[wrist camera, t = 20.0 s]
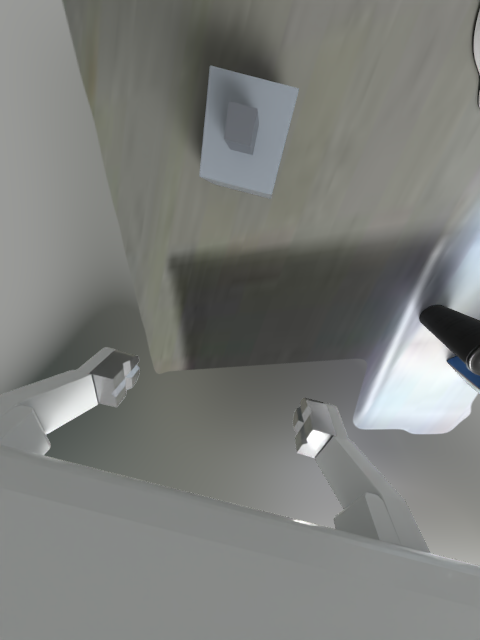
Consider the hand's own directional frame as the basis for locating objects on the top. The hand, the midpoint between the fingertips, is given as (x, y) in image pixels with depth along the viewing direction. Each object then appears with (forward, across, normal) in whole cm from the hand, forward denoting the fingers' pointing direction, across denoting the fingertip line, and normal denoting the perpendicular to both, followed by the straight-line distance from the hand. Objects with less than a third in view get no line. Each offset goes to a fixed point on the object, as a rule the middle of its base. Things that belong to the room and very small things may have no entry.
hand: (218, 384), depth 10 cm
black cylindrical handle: (+34, -39, +3) cm, 52 cm away
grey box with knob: (+34, +5, -15) cm, 37 cm away
